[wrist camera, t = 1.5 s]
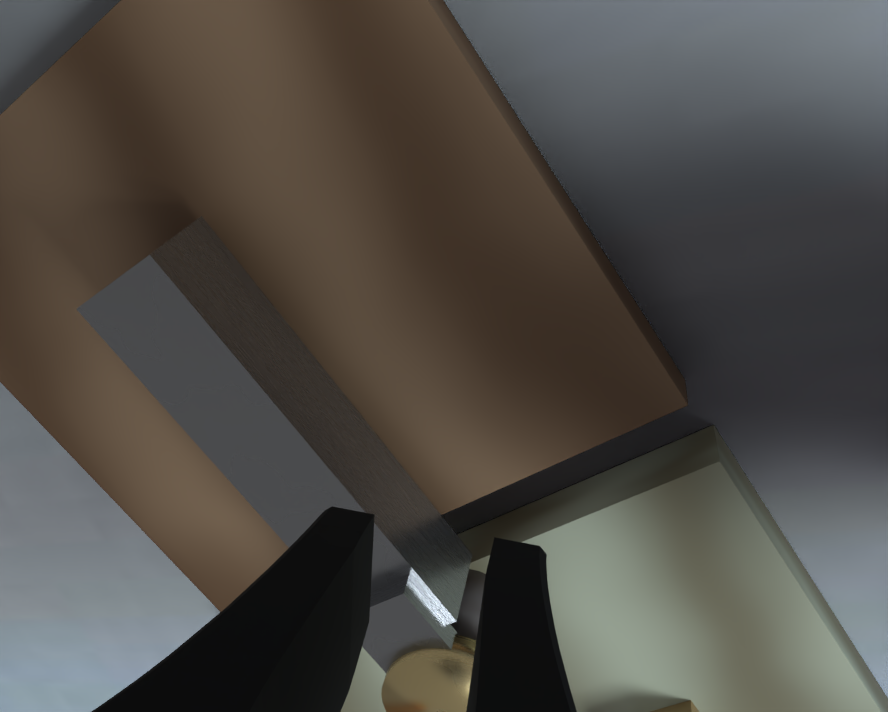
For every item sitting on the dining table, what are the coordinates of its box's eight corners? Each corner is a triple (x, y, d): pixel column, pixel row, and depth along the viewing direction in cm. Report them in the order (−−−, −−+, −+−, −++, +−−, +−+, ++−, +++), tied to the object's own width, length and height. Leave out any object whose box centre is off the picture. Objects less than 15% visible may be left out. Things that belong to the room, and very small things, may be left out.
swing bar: (547, 627, 23) (536, 730, 20) (453, 660, 24) (430, 762, 21) (213, 206, 19) (140, 261, 16) (122, 274, 20) (39, 336, 17)
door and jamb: (331, -177, 17) (255, -196, 13) (904, 724, 25) (948, 854, 21) (-100, 226, 23) (-223, 282, 20) (467, 832, 31) (447, 944, 28)
